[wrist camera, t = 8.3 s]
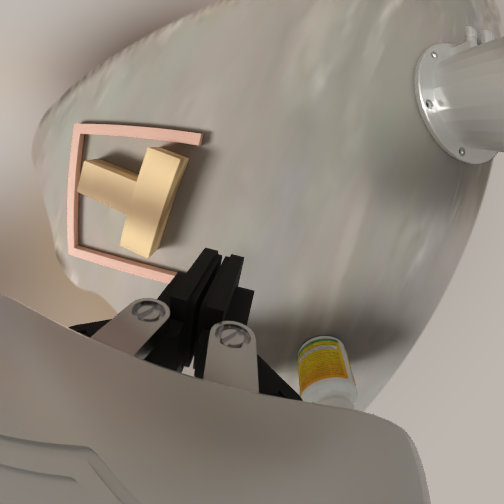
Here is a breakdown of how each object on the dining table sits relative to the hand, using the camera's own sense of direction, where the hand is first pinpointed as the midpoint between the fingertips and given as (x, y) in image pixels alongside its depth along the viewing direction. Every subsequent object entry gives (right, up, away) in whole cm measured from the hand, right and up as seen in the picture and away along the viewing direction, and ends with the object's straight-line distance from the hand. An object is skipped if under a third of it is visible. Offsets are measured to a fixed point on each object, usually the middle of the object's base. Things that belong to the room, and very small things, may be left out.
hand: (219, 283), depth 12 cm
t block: (-10, +7, +12) cm, 17 cm away
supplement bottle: (+9, -10, +17) cm, 21 cm away
